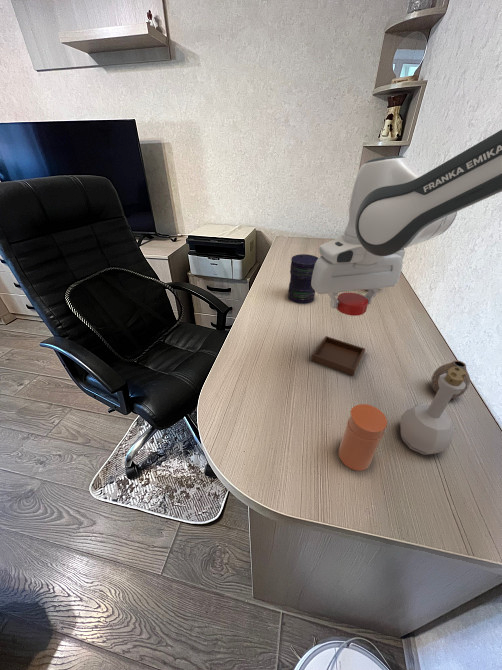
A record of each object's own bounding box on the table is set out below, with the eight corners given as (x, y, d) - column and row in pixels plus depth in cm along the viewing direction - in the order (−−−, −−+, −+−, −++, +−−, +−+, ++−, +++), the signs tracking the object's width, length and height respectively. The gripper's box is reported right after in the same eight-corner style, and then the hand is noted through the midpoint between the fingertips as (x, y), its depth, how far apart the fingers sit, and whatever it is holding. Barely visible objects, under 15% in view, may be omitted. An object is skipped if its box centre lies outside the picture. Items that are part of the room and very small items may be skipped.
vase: (422, 380, 68) (436, 352, 63) (452, 383, 67) (468, 355, 62) (433, 401, 63) (449, 373, 58) (466, 404, 62) (485, 376, 57)
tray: (363, 354, 76) (365, 348, 75) (353, 376, 69) (355, 370, 68) (324, 341, 81) (325, 335, 80) (311, 360, 74) (312, 354, 73)
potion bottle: (449, 437, 55) (495, 370, 45) (436, 469, 50) (485, 401, 39) (403, 413, 60) (435, 347, 50) (387, 439, 55) (419, 372, 44)
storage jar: (319, 301, 102) (325, 262, 93) (295, 306, 99) (299, 265, 90) (306, 290, 109) (310, 252, 101) (283, 294, 107) (286, 256, 98)
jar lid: (330, 309, 66) (332, 299, 64) (343, 298, 70) (345, 289, 69) (358, 319, 62) (361, 309, 61) (370, 307, 66) (373, 298, 65)
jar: (374, 451, 53) (391, 413, 46) (365, 477, 49) (383, 438, 42) (344, 437, 55) (356, 398, 49) (333, 459, 51) (345, 421, 45)
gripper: (397, 240, 62) (381, 295, 70) (312, 246, 59) (305, 303, 67) (416, 248, 57) (396, 307, 65) (325, 256, 54) (315, 316, 62)
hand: (349, 305), depth 66 cm, fingers closed on jar lid, 7 cm apart
